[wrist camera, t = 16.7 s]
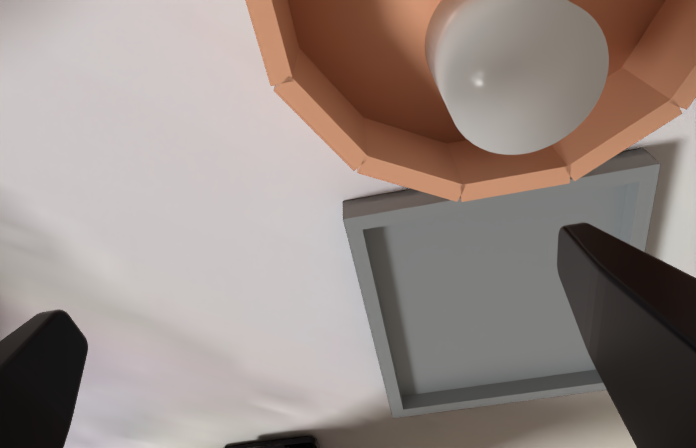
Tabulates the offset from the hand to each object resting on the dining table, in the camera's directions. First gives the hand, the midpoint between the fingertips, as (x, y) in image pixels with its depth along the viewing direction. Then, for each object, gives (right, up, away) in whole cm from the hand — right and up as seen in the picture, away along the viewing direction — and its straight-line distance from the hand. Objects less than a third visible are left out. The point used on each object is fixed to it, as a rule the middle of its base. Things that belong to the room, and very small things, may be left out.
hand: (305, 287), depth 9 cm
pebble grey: (+6, +8, +8) cm, 13 cm away
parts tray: (+8, -3, +17) cm, 19 cm away
